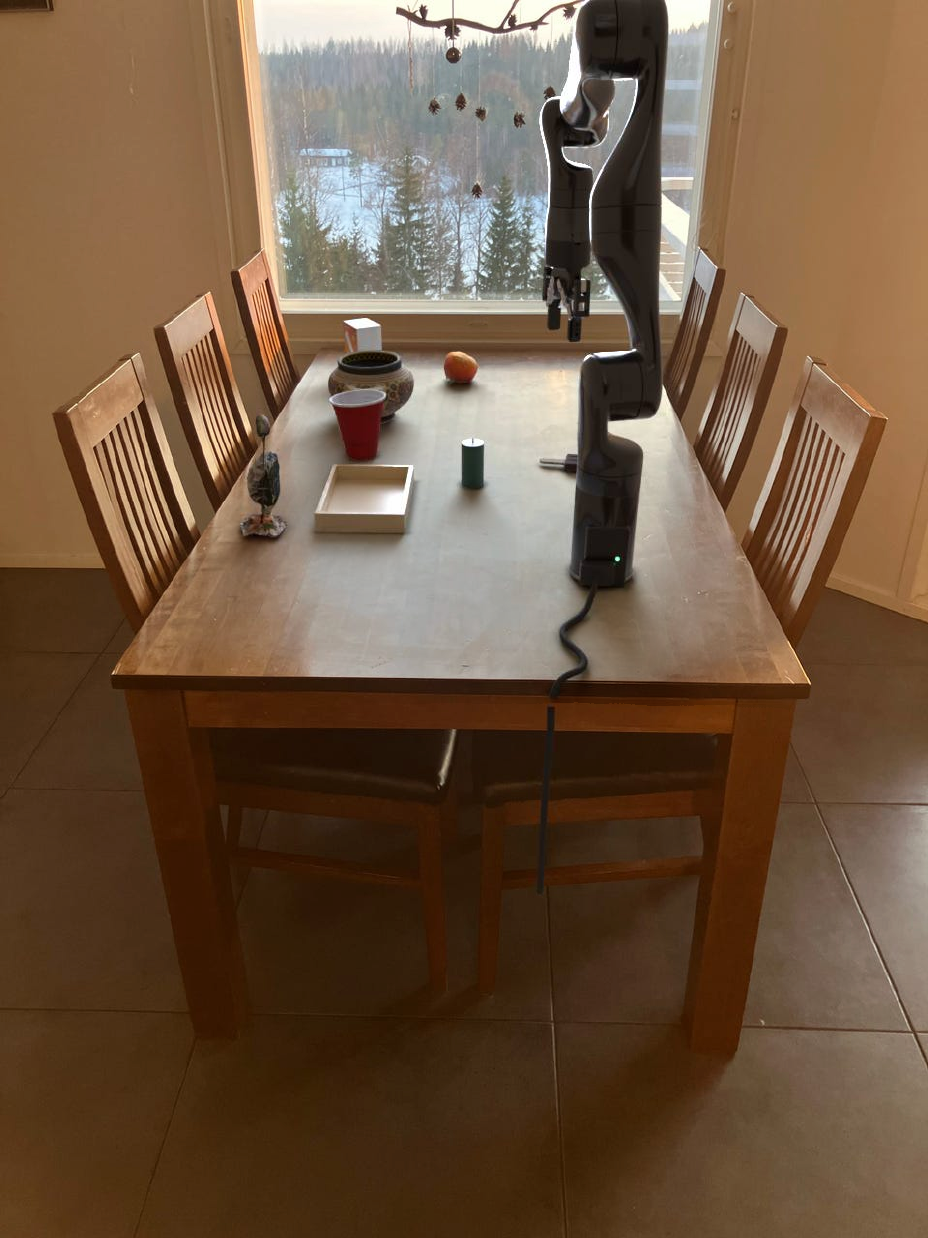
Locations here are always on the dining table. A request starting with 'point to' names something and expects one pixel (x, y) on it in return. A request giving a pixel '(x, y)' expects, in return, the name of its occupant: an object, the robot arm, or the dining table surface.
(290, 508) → the dining table surface
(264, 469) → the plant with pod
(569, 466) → the ice cream bar
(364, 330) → the small box
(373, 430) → the plastic cup
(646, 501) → the dining table surface
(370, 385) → the ceramic bowl
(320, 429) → the dining table surface
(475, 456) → the green candle
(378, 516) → the wooden tray
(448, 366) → the fruit
